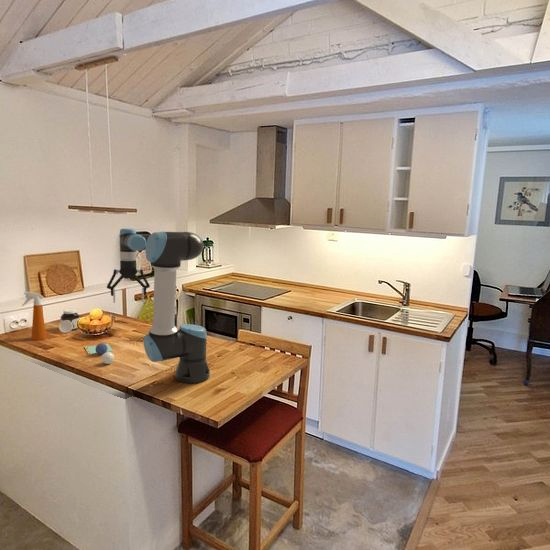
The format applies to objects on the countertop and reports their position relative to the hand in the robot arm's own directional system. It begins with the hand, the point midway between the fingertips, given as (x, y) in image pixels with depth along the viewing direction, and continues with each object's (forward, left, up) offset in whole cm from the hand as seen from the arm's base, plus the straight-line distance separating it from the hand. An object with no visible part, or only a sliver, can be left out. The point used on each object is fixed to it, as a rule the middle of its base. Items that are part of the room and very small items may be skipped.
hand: (128, 301), depth 207 cm
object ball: (+1, +13, -23) cm, 27 cm away
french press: (+15, -26, -26) cm, 40 cm away
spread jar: (+49, +21, -26) cm, 60 cm away
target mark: (+9, +13, -26) cm, 30 cm away
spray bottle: (+40, +39, -26) cm, 62 cm away
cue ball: (-13, +13, -23) cm, 30 cm away
